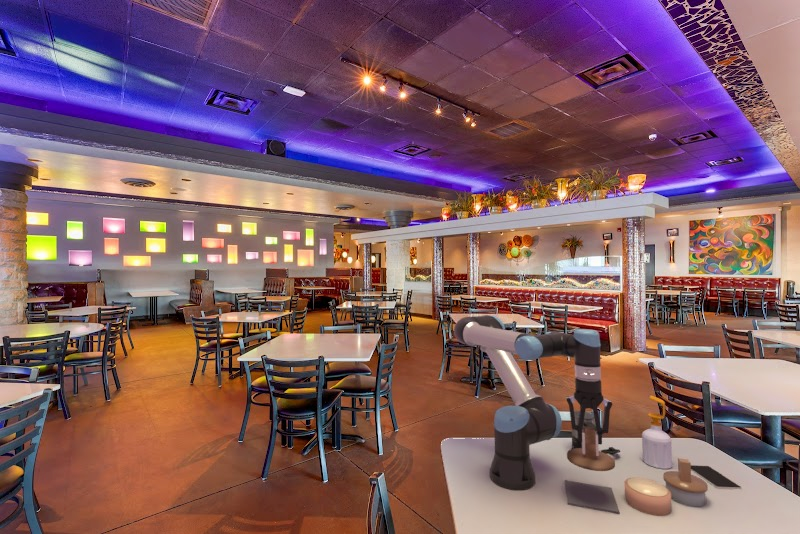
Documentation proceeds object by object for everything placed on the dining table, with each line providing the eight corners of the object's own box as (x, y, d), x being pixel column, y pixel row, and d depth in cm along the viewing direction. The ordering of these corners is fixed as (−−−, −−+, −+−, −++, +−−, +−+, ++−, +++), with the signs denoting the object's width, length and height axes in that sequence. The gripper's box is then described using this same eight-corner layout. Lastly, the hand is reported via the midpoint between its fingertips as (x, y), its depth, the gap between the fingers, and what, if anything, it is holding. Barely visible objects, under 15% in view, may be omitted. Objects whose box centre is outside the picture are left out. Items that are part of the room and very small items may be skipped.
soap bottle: (644, 455, 148) (642, 392, 149) (673, 462, 142) (670, 396, 143) (641, 464, 141) (639, 397, 142) (671, 472, 135) (668, 402, 136)
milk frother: (565, 448, 155) (565, 411, 155) (597, 443, 159) (596, 408, 160) (592, 464, 141) (592, 424, 141) (626, 458, 145) (625, 419, 146)
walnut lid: (568, 466, 116) (567, 433, 116) (565, 448, 129) (565, 418, 129) (618, 474, 111) (617, 439, 112) (611, 454, 124) (610, 423, 124)
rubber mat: (567, 504, 116) (567, 502, 116) (565, 481, 129) (565, 479, 129) (619, 514, 111) (619, 512, 111) (611, 489, 124) (611, 487, 124)
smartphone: (708, 465, 139) (742, 487, 124) (708, 469, 138) (742, 491, 124) (685, 465, 139) (716, 486, 124) (685, 468, 139) (716, 490, 124)
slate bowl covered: (669, 503, 116) (668, 465, 116) (659, 485, 126) (658, 450, 127) (714, 511, 112) (713, 472, 113) (699, 491, 123) (698, 455, 123)
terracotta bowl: (629, 510, 113) (628, 492, 113) (621, 489, 124) (621, 473, 124) (677, 519, 108) (676, 500, 108) (664, 497, 120) (664, 480, 120)
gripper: (561, 379, 120) (563, 454, 119) (618, 383, 115) (621, 462, 114) (560, 373, 127) (562, 444, 126) (614, 377, 122) (616, 452, 121)
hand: (590, 453), depth 120 cm, fingers closed on walnut lid, 3 cm apart
